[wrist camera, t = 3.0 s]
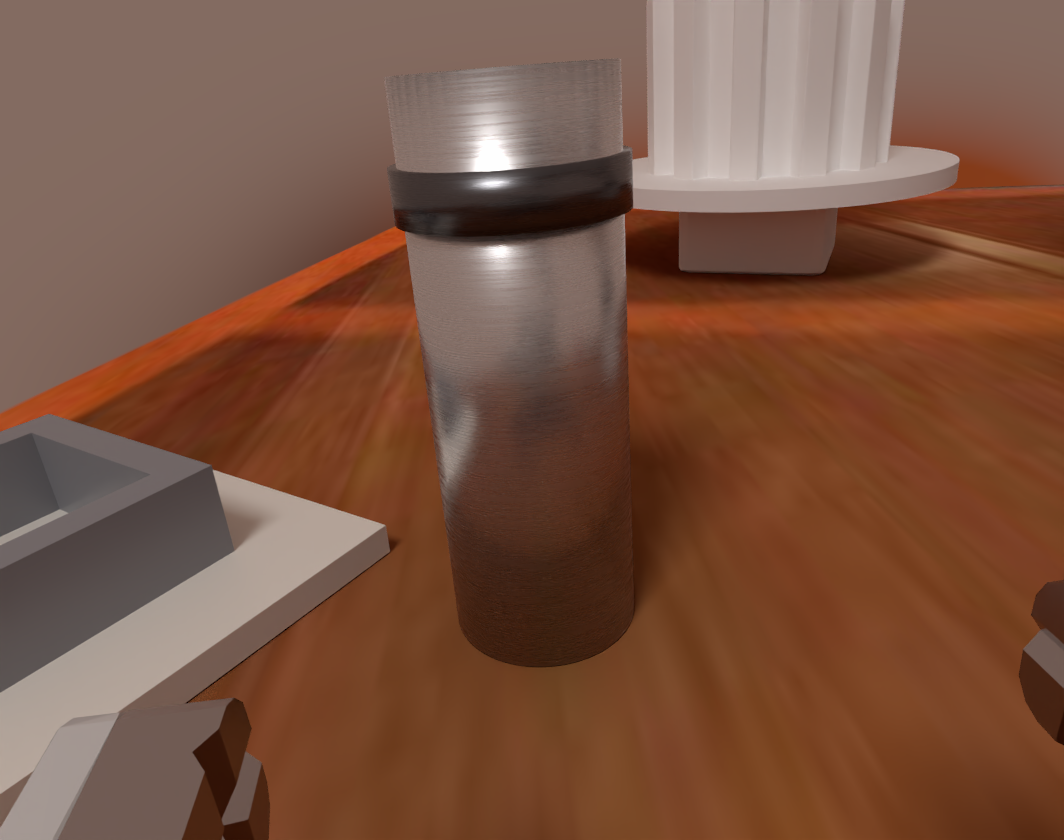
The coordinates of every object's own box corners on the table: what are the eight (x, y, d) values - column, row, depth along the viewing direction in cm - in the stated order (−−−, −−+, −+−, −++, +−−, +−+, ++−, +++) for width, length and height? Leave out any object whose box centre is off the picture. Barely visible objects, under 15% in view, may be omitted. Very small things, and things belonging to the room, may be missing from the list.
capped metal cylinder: (520, 536, 26) (477, 71, 20) (672, 581, 23) (672, 55, 17) (411, 631, 22) (319, 82, 16) (580, 700, 19) (541, 62, 13)
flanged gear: (938, 226, 64) (974, -38, 56) (953, 313, 43) (1013, -85, 36) (644, 226, 74) (641, 1, 66) (542, 296, 53) (520, -19, 45)
